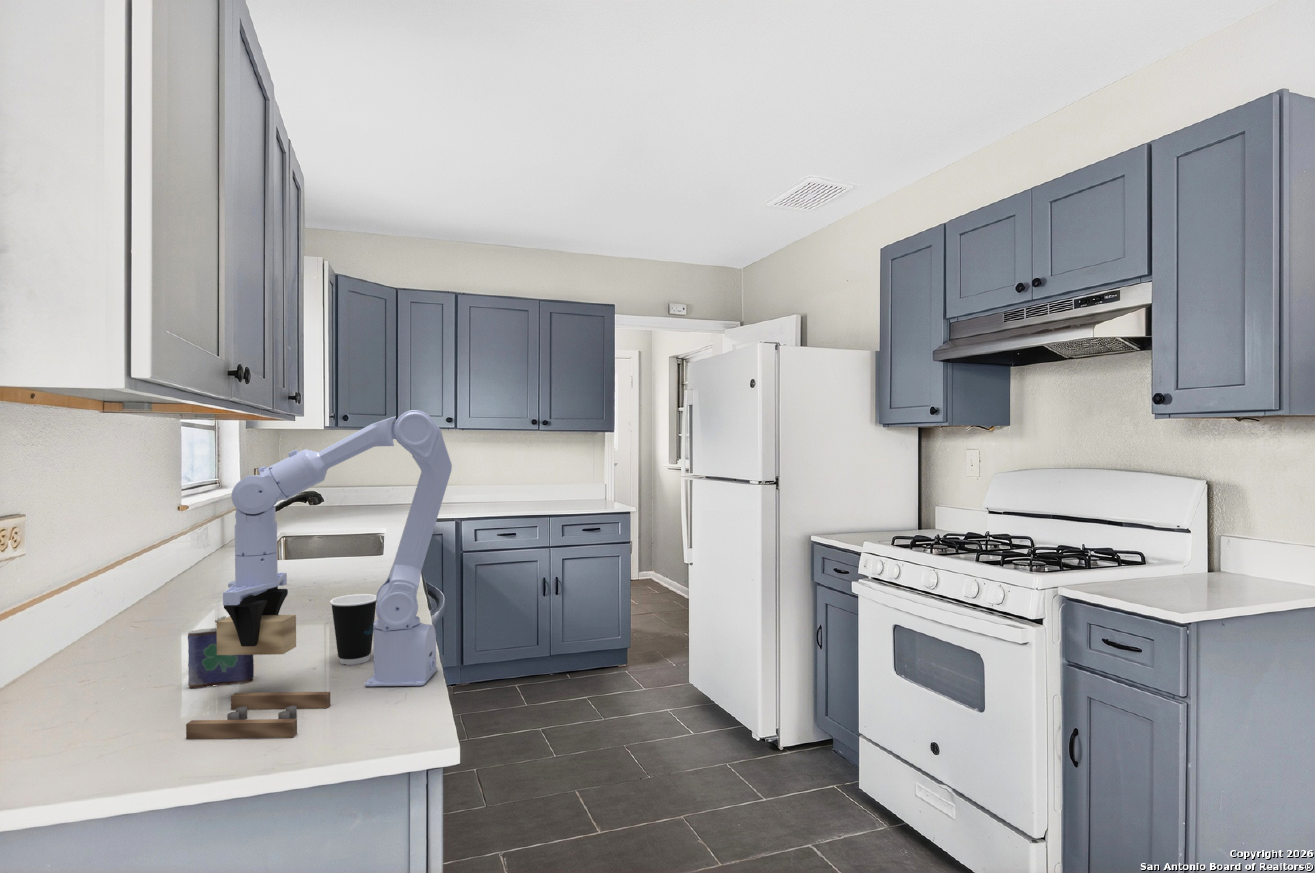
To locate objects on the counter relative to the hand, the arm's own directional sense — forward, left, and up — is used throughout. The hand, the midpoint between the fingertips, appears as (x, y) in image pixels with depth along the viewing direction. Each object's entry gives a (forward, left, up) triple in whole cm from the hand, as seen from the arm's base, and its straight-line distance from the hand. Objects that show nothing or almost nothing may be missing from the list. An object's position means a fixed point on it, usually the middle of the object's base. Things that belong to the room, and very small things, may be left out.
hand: (257, 641), depth 111 cm
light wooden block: (0, 0, -1) cm, 1 cm away
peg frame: (-6, +10, -8) cm, 14 cm away
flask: (+9, -6, -9) cm, 14 cm away
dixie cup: (-8, -17, -9) cm, 21 cm away
